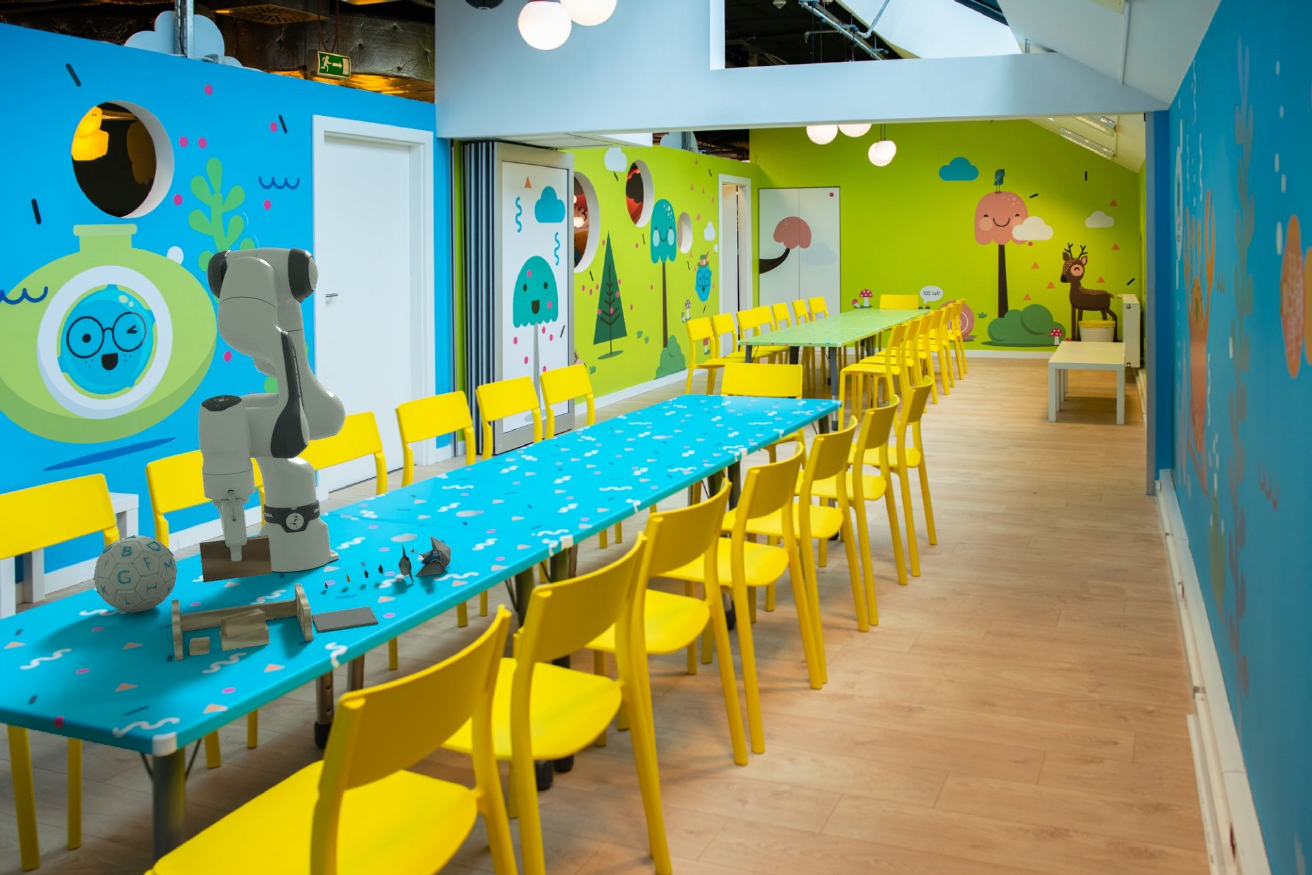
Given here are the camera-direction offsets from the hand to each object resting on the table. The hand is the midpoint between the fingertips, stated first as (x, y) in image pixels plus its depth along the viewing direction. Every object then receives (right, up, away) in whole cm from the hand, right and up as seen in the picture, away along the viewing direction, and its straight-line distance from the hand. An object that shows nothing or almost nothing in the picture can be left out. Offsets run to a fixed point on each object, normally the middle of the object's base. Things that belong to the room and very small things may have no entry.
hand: (236, 557), depth 213 cm
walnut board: (0, -4, +1) cm, 4 cm away
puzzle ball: (-25, -12, +16) cm, 32 cm away
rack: (+1, -14, -1) cm, 14 cm away
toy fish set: (+22, -9, +29) cm, 38 cm away
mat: (+18, -13, +7) cm, 23 cm away
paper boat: (+29, -7, +40) cm, 50 cm away
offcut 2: (+4, -13, -6) cm, 14 cm away
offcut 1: (-3, -16, -8) cm, 18 cm away
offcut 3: (+4, -16, -5) cm, 17 cm away
